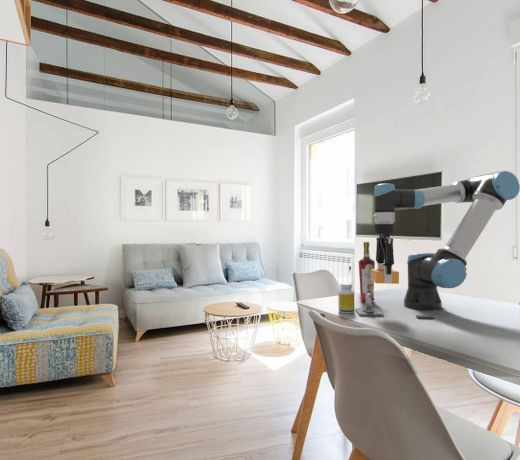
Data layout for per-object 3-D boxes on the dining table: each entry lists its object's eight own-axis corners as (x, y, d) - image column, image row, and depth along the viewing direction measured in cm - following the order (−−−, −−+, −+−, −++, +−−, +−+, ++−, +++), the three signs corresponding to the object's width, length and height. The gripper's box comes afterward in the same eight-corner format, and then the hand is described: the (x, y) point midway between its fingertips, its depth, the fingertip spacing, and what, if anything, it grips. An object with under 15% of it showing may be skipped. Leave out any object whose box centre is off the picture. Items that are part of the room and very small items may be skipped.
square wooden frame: (391, 280, 144) (392, 269, 144) (398, 283, 136) (398, 271, 136) (370, 280, 145) (370, 269, 145) (376, 283, 136) (376, 271, 136)
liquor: (372, 300, 172) (371, 241, 172) (377, 303, 164) (377, 242, 164) (356, 300, 171) (356, 241, 172) (361, 303, 164) (361, 242, 164)
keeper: (355, 310, 150) (354, 291, 150) (377, 310, 149) (376, 291, 149) (359, 316, 139) (359, 296, 139) (383, 316, 138) (383, 296, 139)
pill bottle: (355, 314, 143) (354, 285, 143) (338, 313, 144) (338, 284, 144) (354, 310, 149) (353, 282, 149) (338, 310, 151) (338, 282, 151)
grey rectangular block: (432, 317, 136) (432, 315, 136) (434, 319, 134) (434, 316, 134) (415, 317, 137) (415, 315, 137) (418, 318, 135) (418, 316, 135)
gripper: (367, 224, 151) (368, 277, 151) (382, 222, 130) (382, 285, 130) (386, 224, 151) (386, 277, 151) (403, 222, 129) (403, 285, 129)
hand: (384, 281), depth 140 cm, fingers closed on square wooden frame, 8 cm apart
